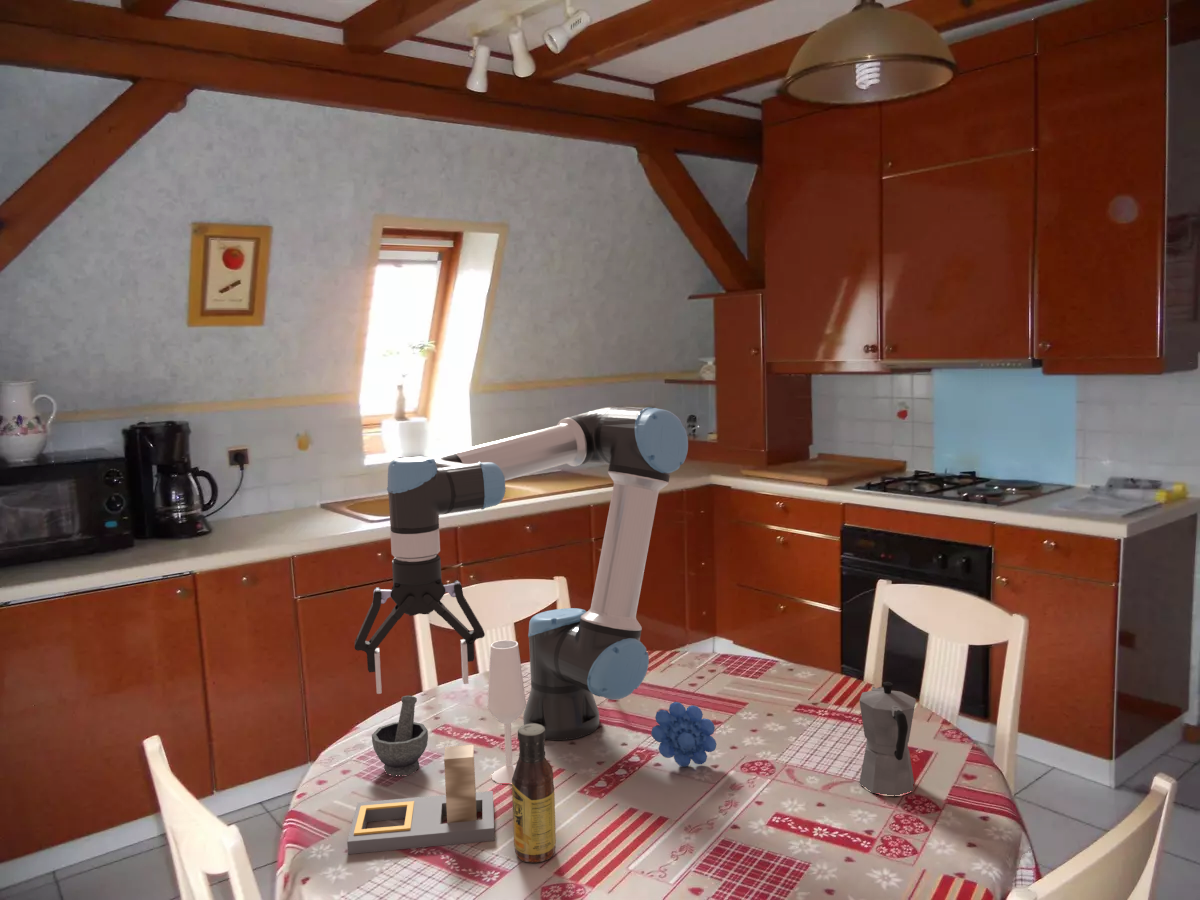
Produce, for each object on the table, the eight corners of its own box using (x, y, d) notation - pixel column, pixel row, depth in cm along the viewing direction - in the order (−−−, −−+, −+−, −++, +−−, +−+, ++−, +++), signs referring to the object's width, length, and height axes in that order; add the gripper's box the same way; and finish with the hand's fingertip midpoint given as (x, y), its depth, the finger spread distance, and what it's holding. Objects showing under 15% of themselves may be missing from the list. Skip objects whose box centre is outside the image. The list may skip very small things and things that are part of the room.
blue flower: (654, 779, 160) (653, 713, 159) (650, 761, 167) (649, 698, 166) (721, 775, 161) (720, 709, 160) (714, 758, 168) (713, 694, 166)
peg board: (493, 802, 154) (492, 789, 154) (494, 840, 142) (494, 826, 142) (358, 814, 151) (357, 800, 151) (347, 854, 139) (347, 839, 139)
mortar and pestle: (416, 783, 161) (412, 717, 160) (365, 780, 163) (362, 714, 162) (438, 754, 172) (435, 692, 171) (391, 752, 174) (387, 690, 173)
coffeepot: (848, 767, 163) (849, 669, 161) (902, 766, 163) (903, 667, 161) (873, 811, 148) (874, 703, 146) (932, 810, 148) (934, 702, 146)
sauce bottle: (514, 844, 141) (509, 719, 139) (555, 841, 141) (551, 716, 139) (514, 868, 134) (509, 738, 132) (557, 865, 135) (552, 735, 133)
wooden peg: (476, 815, 150) (473, 744, 149) (476, 829, 146) (473, 757, 144) (448, 817, 149) (445, 746, 148) (447, 832, 145) (444, 759, 144)
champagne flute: (530, 782, 160) (525, 649, 158) (491, 786, 159) (485, 652, 157) (526, 765, 167) (522, 636, 164) (489, 769, 166) (484, 639, 163)
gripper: (492, 544, 152) (497, 669, 154) (334, 557, 146) (342, 686, 149) (498, 554, 145) (503, 685, 147) (333, 568, 139) (341, 703, 141)
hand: (422, 685), depth 148 cm, fingers open, 13 cm apart
